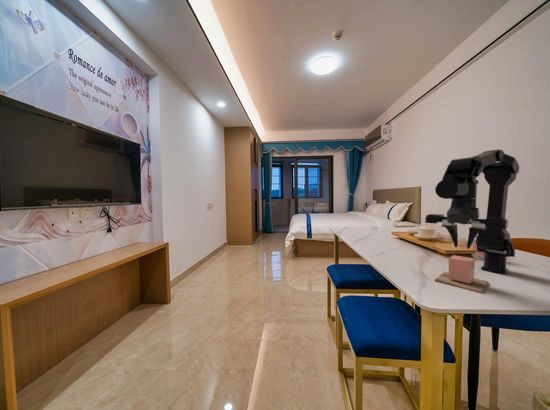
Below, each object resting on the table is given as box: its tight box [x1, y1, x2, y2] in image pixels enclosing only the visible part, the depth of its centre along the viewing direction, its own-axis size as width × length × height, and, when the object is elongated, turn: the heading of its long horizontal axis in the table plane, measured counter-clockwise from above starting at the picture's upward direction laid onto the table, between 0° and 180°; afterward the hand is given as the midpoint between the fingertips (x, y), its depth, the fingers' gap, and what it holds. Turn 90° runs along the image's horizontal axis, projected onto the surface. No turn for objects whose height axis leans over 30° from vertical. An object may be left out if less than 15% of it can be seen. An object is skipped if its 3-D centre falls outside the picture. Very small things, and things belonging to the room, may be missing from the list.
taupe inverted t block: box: [434, 271, 489, 294], centre depth 67 cm, size 11×11×7 cm
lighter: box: [471, 234, 484, 262], centre depth 92 cm, size 8×3×10 cm, turn 168°
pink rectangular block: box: [448, 254, 476, 284], centre depth 67 cm, size 5×5×7 cm
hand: (462, 247), depth 67 cm, fingers open, 3 cm apart
